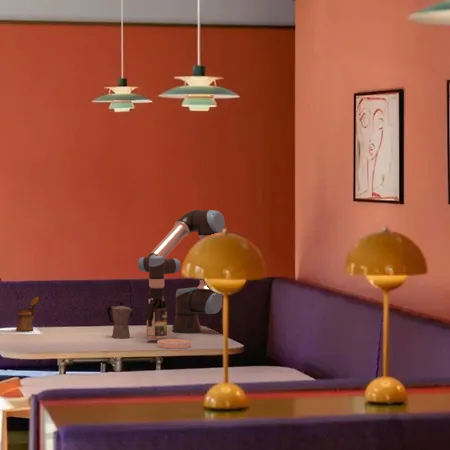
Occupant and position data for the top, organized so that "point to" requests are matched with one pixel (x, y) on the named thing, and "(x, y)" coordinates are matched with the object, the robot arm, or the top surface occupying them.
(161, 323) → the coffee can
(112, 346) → the top surface
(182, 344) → the round dish
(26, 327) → the brown tapered pot
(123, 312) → the coffeepot
